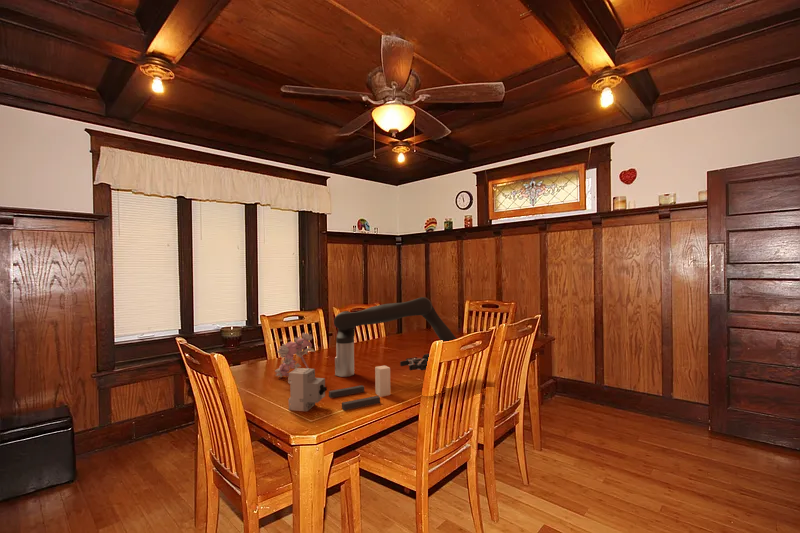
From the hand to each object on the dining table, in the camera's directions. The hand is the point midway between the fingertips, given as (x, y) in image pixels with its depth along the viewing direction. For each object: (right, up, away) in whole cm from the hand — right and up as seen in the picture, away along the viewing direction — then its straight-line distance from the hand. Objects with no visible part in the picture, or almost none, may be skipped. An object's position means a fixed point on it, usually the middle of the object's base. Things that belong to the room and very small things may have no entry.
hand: (404, 365), depth 178 cm
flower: (-58, -12, +21) cm, 63 cm away
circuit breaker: (-39, -12, -21) cm, 46 cm away
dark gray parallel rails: (-22, -11, -12) cm, 28 cm away
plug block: (-10, -11, -5) cm, 16 cm away
